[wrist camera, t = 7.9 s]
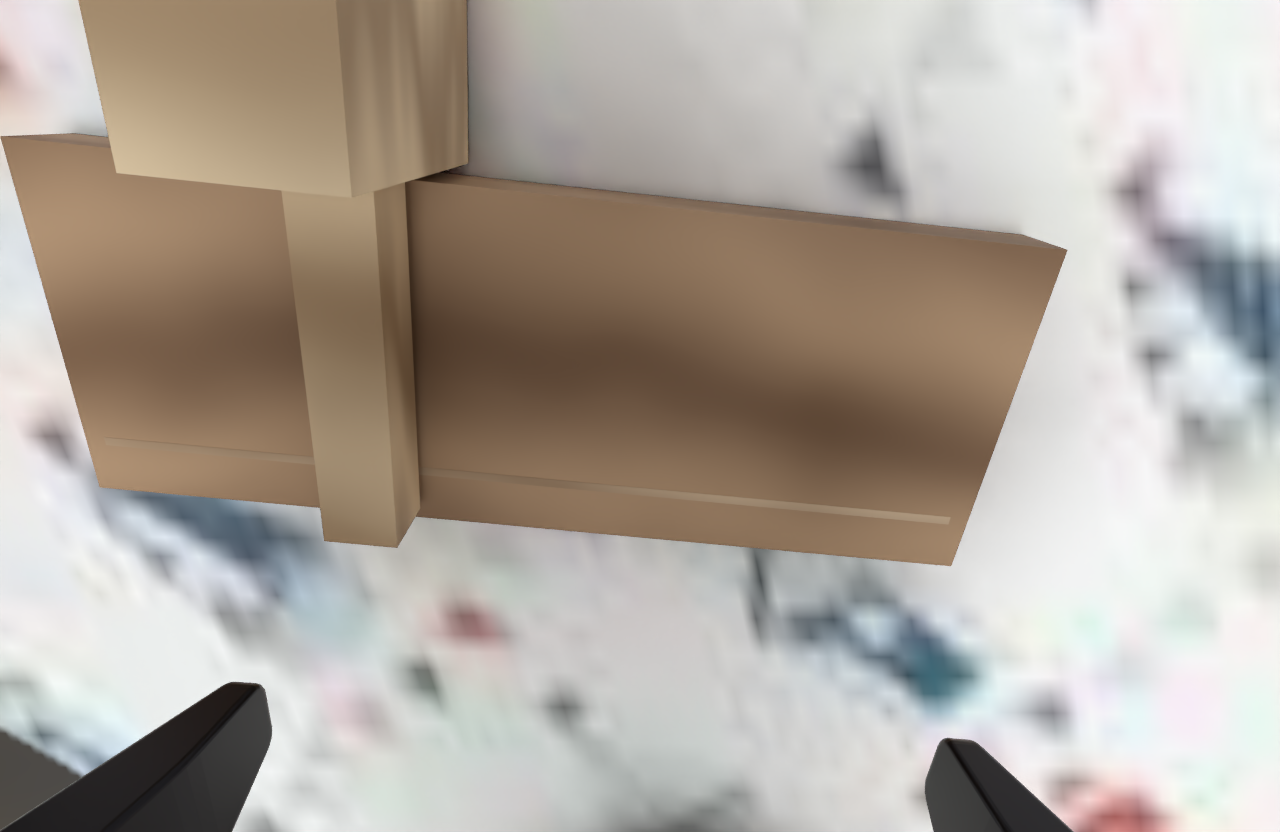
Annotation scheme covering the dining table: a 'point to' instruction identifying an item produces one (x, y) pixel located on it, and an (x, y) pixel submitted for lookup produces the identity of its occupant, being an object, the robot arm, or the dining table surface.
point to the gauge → (309, 187)
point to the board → (557, 354)
